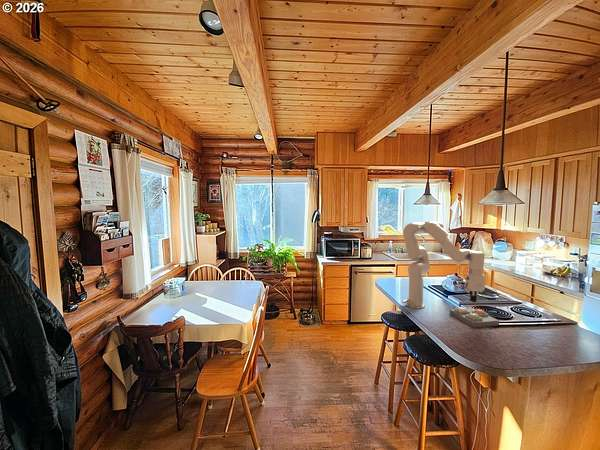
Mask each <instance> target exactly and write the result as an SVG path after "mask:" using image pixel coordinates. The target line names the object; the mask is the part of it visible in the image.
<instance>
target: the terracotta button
mask: <svg viewBox="0 0 600 450" xmlns="http://www.w3.org/2000/svg"><path fill="white" fill-rule="evenodd" d="M484 312H485V311H484V310H483V309H479V308H476V313H478V314H484Z"/></svg>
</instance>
